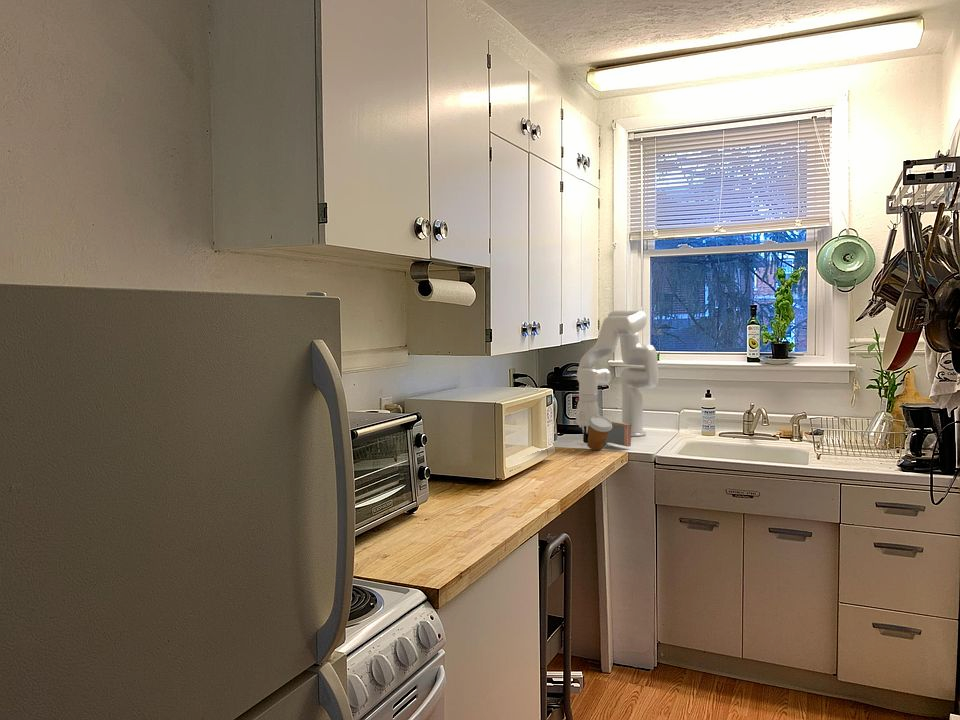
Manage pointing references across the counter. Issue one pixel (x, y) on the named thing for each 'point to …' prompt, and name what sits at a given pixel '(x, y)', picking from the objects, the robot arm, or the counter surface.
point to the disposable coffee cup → (598, 432)
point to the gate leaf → (620, 434)
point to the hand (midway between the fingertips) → (587, 442)
